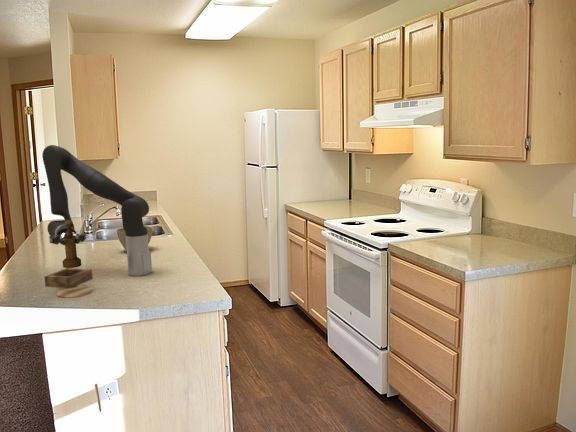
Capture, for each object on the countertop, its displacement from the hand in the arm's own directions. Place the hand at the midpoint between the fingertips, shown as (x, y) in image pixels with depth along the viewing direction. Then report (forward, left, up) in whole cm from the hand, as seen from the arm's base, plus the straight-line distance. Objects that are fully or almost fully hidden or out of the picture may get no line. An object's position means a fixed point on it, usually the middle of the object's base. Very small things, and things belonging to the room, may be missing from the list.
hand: (70, 241), depth 195 cm
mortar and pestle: (+2, -2, -10) cm, 11 cm away
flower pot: (+19, -73, -21) cm, 79 cm away
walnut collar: (+14, -14, -21) cm, 29 cm away
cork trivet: (+2, -2, -21) cm, 21 cm away
